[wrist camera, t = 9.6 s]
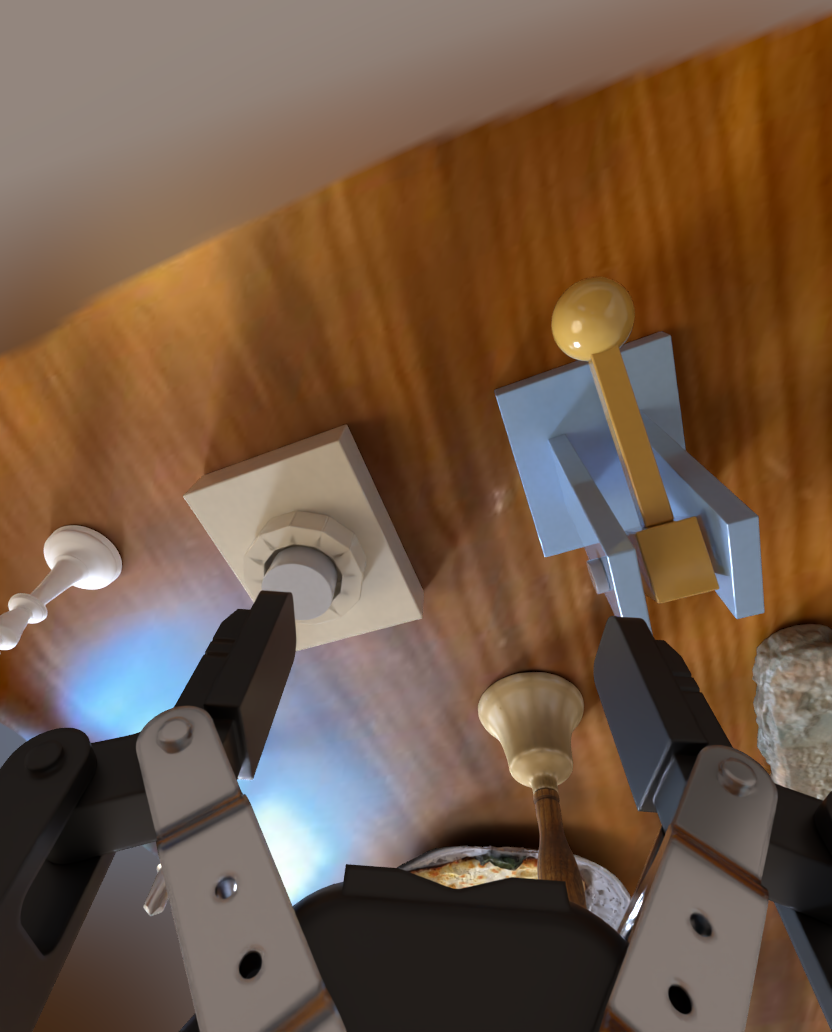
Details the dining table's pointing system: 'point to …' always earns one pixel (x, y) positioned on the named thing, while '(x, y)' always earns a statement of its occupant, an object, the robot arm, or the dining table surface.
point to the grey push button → (303, 580)
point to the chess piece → (62, 577)
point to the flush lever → (632, 439)
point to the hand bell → (539, 757)
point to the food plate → (518, 874)
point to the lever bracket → (622, 478)
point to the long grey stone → (796, 707)
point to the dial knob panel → (313, 531)
